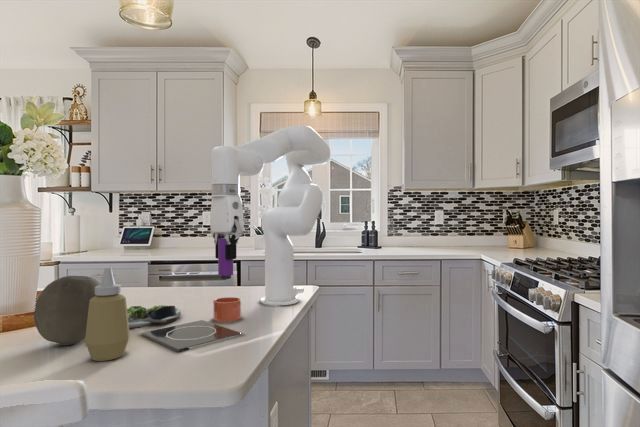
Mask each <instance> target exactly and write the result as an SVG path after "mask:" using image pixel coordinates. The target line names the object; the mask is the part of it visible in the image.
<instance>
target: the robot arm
mask: <svg viewBox="0 0 640 427" xmlns="http://www.w3.org/2000/svg"><path fill="white" fill-rule="evenodd" d="M284 156H285V161H286V166H287V169H288V176H287V179H286V181H285V182H284V185H283V186H282V188H281V190H280V192H279V194H278V197H277V205H278V206H274V207H273V206H272V207H270V208H268V209H266V210H265V211H264V212H263V214H262V217H261V227H262V231H263V238H264V296H263V297H261V298H260V303H261V304H264V305H271V306H291V305H295V304H297V303H299V297H298V296H297V295H298V294H303V293H304V292H305V289H304V287H302V286H301V287H300V286H299V287H297V286H295V283H294V282H295V280H294V279H295V278H294V277H295V273H294V270H295V268H294V265H295V264H294V262H295V260H294V259H295V258H294V257H295V256H294V254H295V252H294V250H295V249H294V246H293V243H292V241H291V239H290V237H303V236H307V235H309V234H310V233H311V232H312V231H313V228H314V226H315V224H316V221H317V219H318V217H319V214H320V213H321V210H322V207H323V203H324V193H323V190H322V188H321V187H320V185H317V184H316V183H315V184H314V183H312V179H311V175H310V174H309V173H308V171H307V169H306V168H305V167H308V166H309V167H310V166H319V165H326V164H327V163H328V162H329V160H330V158H331V149H330V146H329V144H328V142H327V141H326V140H325V139H324V137H322V136H321V135H320V133H318V132H317V131H316V130H315V129H314V128H312V127H311V126H309V125H306V124H301V125H300V124H299V125H293V126H286V127H285V126H284V127H282V128H278V129H277V130H275V131H273V132H271V133H269V134H267V135H264V136H262V137H259V138H256V139H252V140H251V141H248V142H244V143H242V144H238V145H235V146H230V145H219V146H218V145H217V146H215V147H213V148H212V150H211V204H210V214H209V215H210V216H209V226H210V230H209V232H210V234H211V236H212V238H213V240H214V241H213V242H214V245H215V248H214V249H215V254H214V255H215V259H217V260H218V239H219V238H226V241H227V245H225V259H226V260H230V259H233V260H236V259H237V245H238V243H239V239H240V238H241V236H243V232H244V230H245V229H244V228H245V223H244V222H245V221H244V220H245V219H244V206H243V201H242V197H241V195H240V194H241V193H240V192H241V188H240V187H241V186H240V185H241V183H240V182H241V180H240V178H241V177H252V176H257V175H259V174H260V173H261V172H262V171H263V170H264V167H265V165H266V164H270V163H274V162H276V161H278V160H280V159H282V158H283V157H284Z"/></svg>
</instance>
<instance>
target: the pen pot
mask: <svg viewBox="0 0 640 427" xmlns="http://www.w3.org/2000/svg"><path fill="white" fill-rule="evenodd" d="M212 301H213V302H212V303H213V304H212V305H213V306H212V307H213V308H212V312H213V313H212V315H213V316H212V318H213V321H215V322H220V323H229V322H235V321H238V320H241V319H242V299H241V297H234V296H230V297H229V296H228V297H225V296H224V297H219V298H215V299H213V300H212Z"/></svg>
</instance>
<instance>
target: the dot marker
mask: <svg viewBox="0 0 640 427" xmlns="http://www.w3.org/2000/svg"><path fill="white" fill-rule="evenodd" d="M225 245H227V241H226V237H225V238H219V239H218V259H217V267H218V268H217V269H218V270H217V274H218V275H217V276H218V277H219V276H220V280H231V279H232V276H233V275H234V259H230V260H226V259H225Z"/></svg>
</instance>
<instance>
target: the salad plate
mask: <svg viewBox="0 0 640 427" xmlns="http://www.w3.org/2000/svg"><path fill="white" fill-rule="evenodd" d="M127 314H128V323H129V329H135V328H139V329H140V328H141V327H151V326H155V327H156V326H162V325H163V326H164V325H168V324H171V323H174V322H177V321H178V319H179V318H180V315H181V309H180V308H179V307H176V305H166V304H164V305H163V304H162V305H161V304H160V305H154V306H152V307H150V308H146V307H144V306H142V305H131V306H129V308H127Z"/></svg>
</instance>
